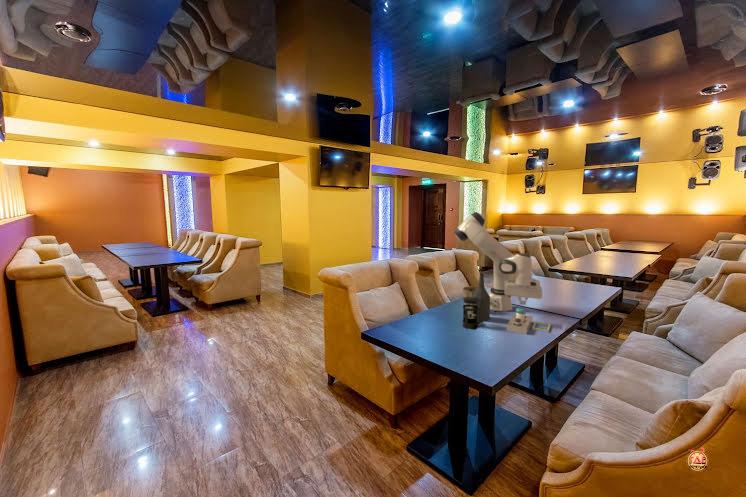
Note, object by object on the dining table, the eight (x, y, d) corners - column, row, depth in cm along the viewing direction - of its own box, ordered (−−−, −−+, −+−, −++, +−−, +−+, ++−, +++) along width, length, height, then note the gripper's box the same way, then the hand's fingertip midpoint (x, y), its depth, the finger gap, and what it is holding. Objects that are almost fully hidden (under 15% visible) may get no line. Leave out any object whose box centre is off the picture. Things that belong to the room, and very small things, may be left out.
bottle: (487, 318, 204) (488, 271, 201) (491, 323, 194) (492, 274, 191) (470, 317, 205) (471, 271, 202) (474, 323, 195) (474, 274, 192)
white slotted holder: (526, 337, 172) (526, 328, 172) (506, 333, 178) (506, 324, 178) (532, 324, 191) (532, 316, 190) (514, 321, 196) (514, 313, 196)
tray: (532, 332, 179) (532, 327, 179) (535, 325, 189) (535, 321, 189) (548, 335, 175) (548, 330, 174) (550, 328, 184) (550, 323, 184)
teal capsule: (514, 326, 184) (515, 309, 182) (516, 324, 187) (516, 307, 186) (523, 328, 181) (524, 311, 180) (525, 325, 185) (525, 309, 184)
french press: (458, 325, 192) (458, 288, 189) (467, 322, 198) (467, 285, 195) (475, 331, 183) (476, 291, 180) (484, 327, 189) (485, 288, 186)
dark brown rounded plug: (514, 325, 177) (514, 319, 177) (515, 324, 180) (515, 318, 179) (520, 326, 176) (520, 320, 175) (521, 325, 178) (521, 318, 178)
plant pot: (457, 310, 222) (458, 287, 220) (476, 307, 226) (476, 285, 224) (470, 316, 208) (470, 292, 206) (490, 313, 212) (490, 290, 210)
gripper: (503, 280, 191) (502, 303, 192) (541, 283, 179) (541, 307, 181) (505, 278, 196) (505, 300, 197) (543, 281, 184) (542, 305, 186)
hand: (522, 304), depth 189 cm, fingers closed
